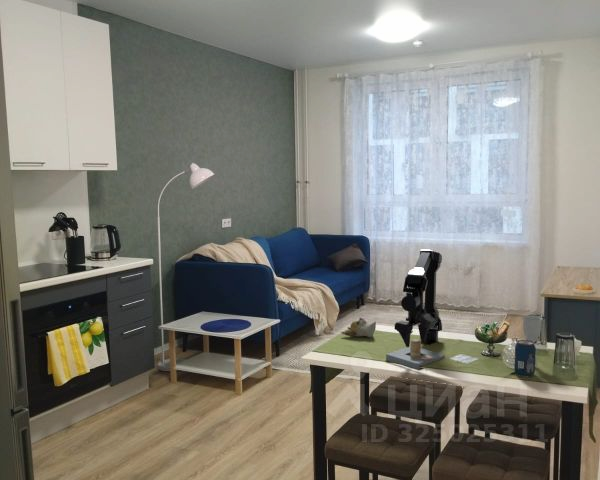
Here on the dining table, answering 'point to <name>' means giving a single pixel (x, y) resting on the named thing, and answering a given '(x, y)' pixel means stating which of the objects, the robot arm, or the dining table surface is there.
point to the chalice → (532, 328)
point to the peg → (415, 348)
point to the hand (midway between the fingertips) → (415, 344)
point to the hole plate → (413, 358)
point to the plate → (464, 358)
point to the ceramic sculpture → (361, 328)
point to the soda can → (525, 358)
